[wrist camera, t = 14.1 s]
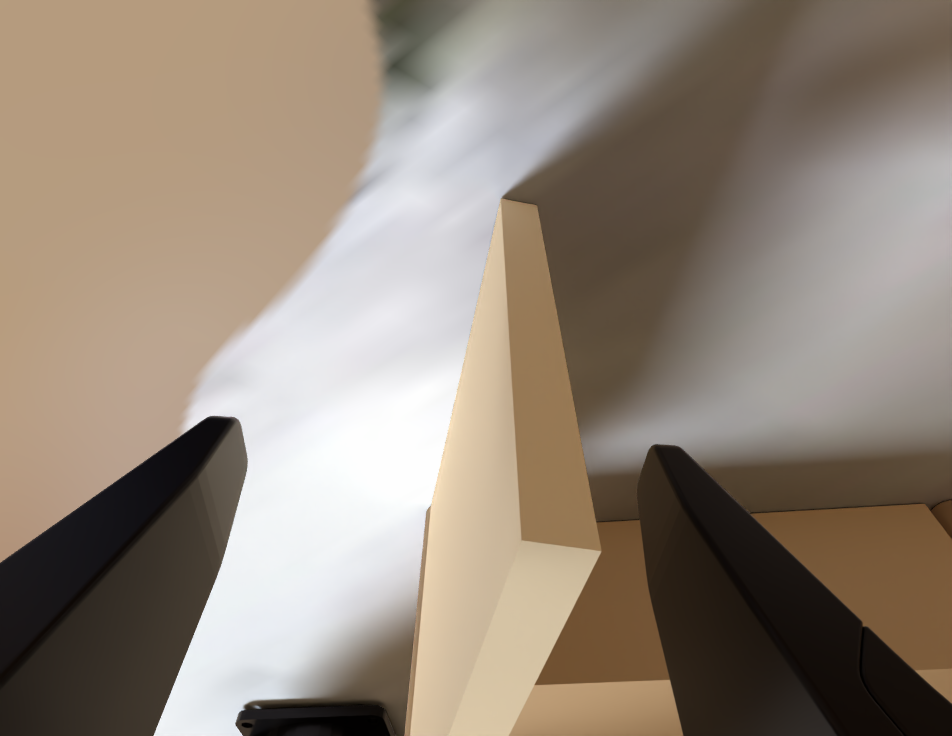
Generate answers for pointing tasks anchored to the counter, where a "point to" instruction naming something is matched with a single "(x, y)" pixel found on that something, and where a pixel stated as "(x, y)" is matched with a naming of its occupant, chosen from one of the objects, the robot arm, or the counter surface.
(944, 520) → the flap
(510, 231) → the side flap
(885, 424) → the counter surface
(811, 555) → the carton
